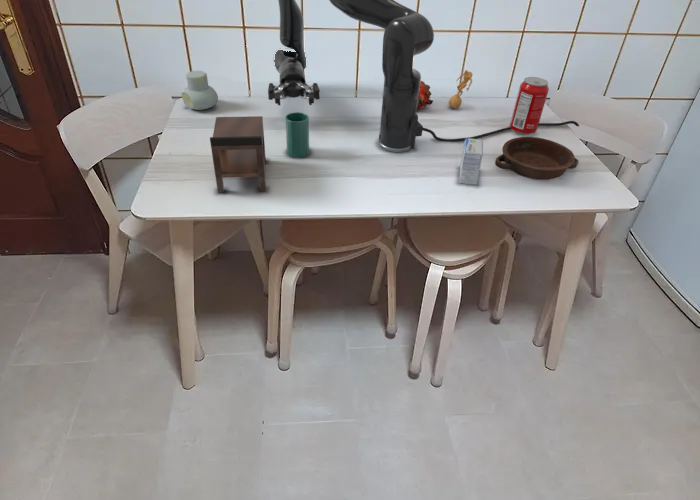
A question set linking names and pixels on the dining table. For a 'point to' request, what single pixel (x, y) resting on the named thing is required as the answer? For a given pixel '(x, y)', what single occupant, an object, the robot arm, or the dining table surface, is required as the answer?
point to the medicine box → (471, 161)
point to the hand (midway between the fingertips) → (294, 101)
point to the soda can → (529, 105)
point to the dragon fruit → (424, 96)
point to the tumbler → (297, 134)
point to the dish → (536, 158)
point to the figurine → (460, 90)
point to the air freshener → (198, 91)
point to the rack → (238, 149)
